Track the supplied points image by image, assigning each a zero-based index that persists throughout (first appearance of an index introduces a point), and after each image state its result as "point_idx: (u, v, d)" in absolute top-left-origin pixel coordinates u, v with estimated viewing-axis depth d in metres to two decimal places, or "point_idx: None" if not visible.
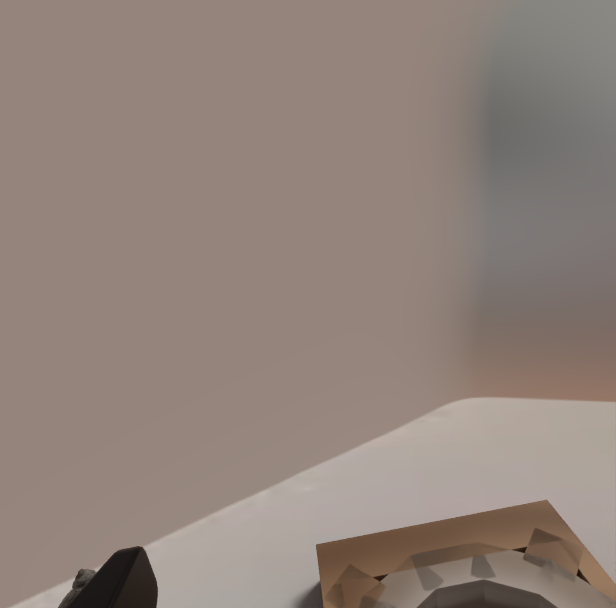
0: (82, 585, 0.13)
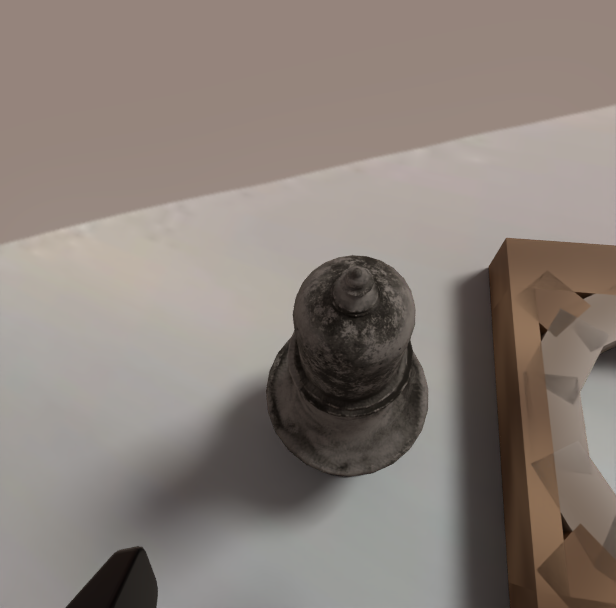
0: (357, 289, 0.09)
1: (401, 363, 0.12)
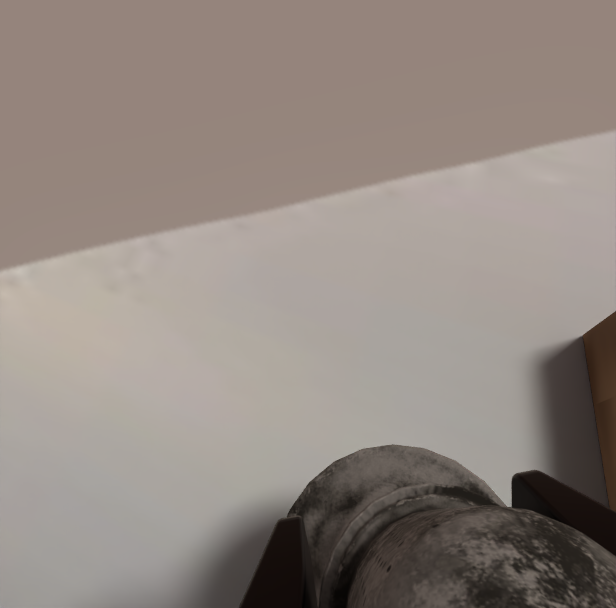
0: None
1: None
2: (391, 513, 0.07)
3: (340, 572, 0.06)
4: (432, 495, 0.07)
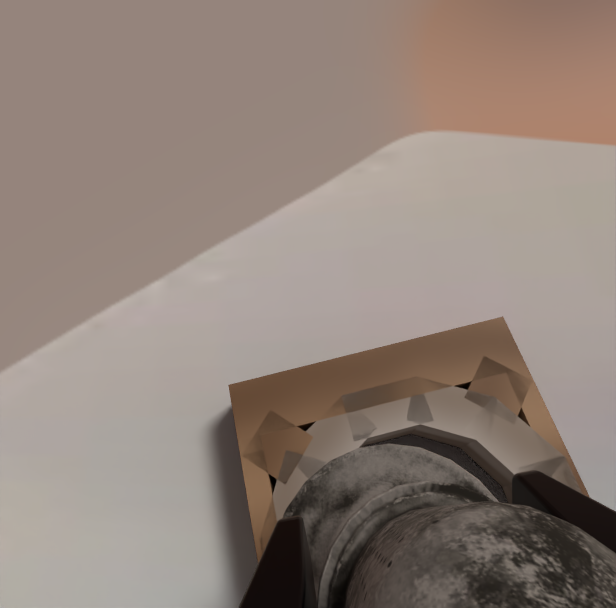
0: None
1: None
2: (389, 510, 0.07)
3: (338, 569, 0.06)
4: (429, 493, 0.07)
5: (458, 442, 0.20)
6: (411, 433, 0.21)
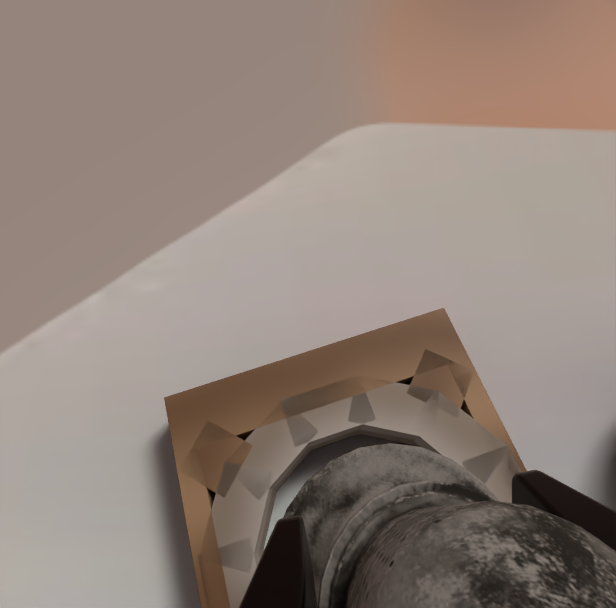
0: None
1: None
2: (390, 510, 0.07)
3: (340, 569, 0.06)
4: (431, 492, 0.07)
5: (405, 439, 0.19)
6: (359, 433, 0.20)
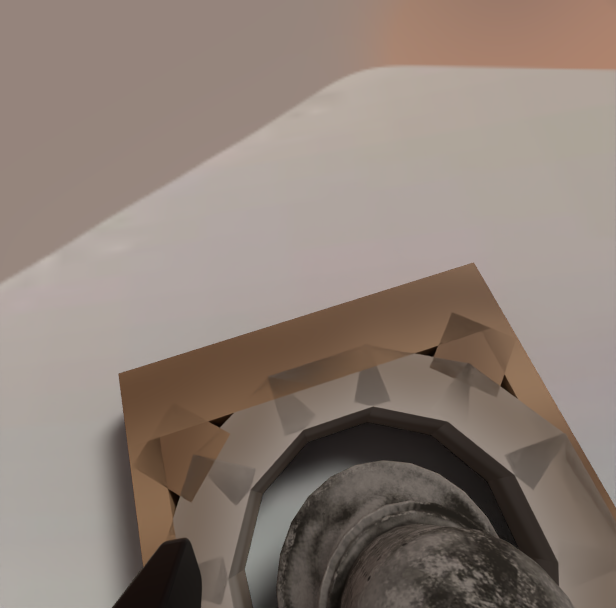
0: None
1: None
2: (377, 527, 0.08)
3: (335, 578, 0.08)
4: (412, 511, 0.08)
5: (427, 427, 0.15)
6: (367, 421, 0.16)
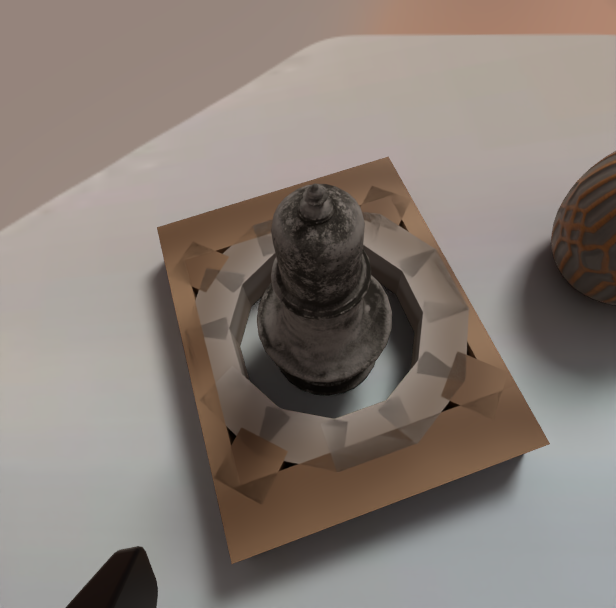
0: (316, 200, 0.12)
1: (361, 276, 0.15)
2: None
3: None
4: None
5: None
6: None
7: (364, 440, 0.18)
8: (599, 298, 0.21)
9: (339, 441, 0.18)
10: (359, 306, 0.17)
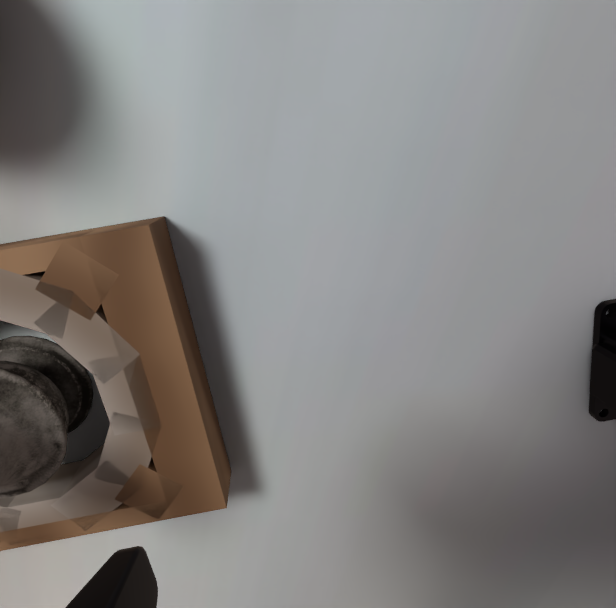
0: None
1: None
2: None
3: None
4: None
5: None
6: None
7: (133, 398, 0.18)
8: None
9: (132, 421, 0.18)
10: None
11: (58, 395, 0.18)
